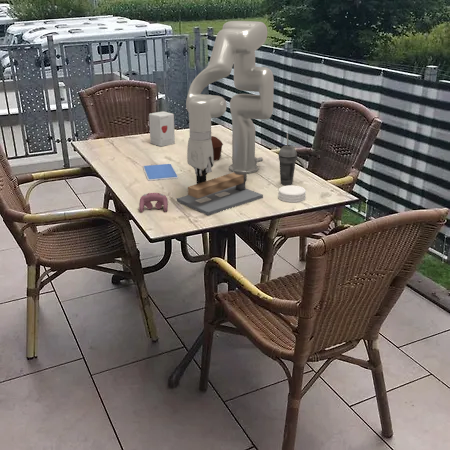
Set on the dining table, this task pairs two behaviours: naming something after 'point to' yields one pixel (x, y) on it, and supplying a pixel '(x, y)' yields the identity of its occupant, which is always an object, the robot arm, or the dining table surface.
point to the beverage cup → (287, 163)
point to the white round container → (291, 193)
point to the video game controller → (149, 197)
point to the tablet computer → (160, 172)
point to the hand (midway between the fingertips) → (201, 185)
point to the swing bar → (217, 184)
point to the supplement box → (162, 128)
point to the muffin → (216, 147)
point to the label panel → (221, 199)
